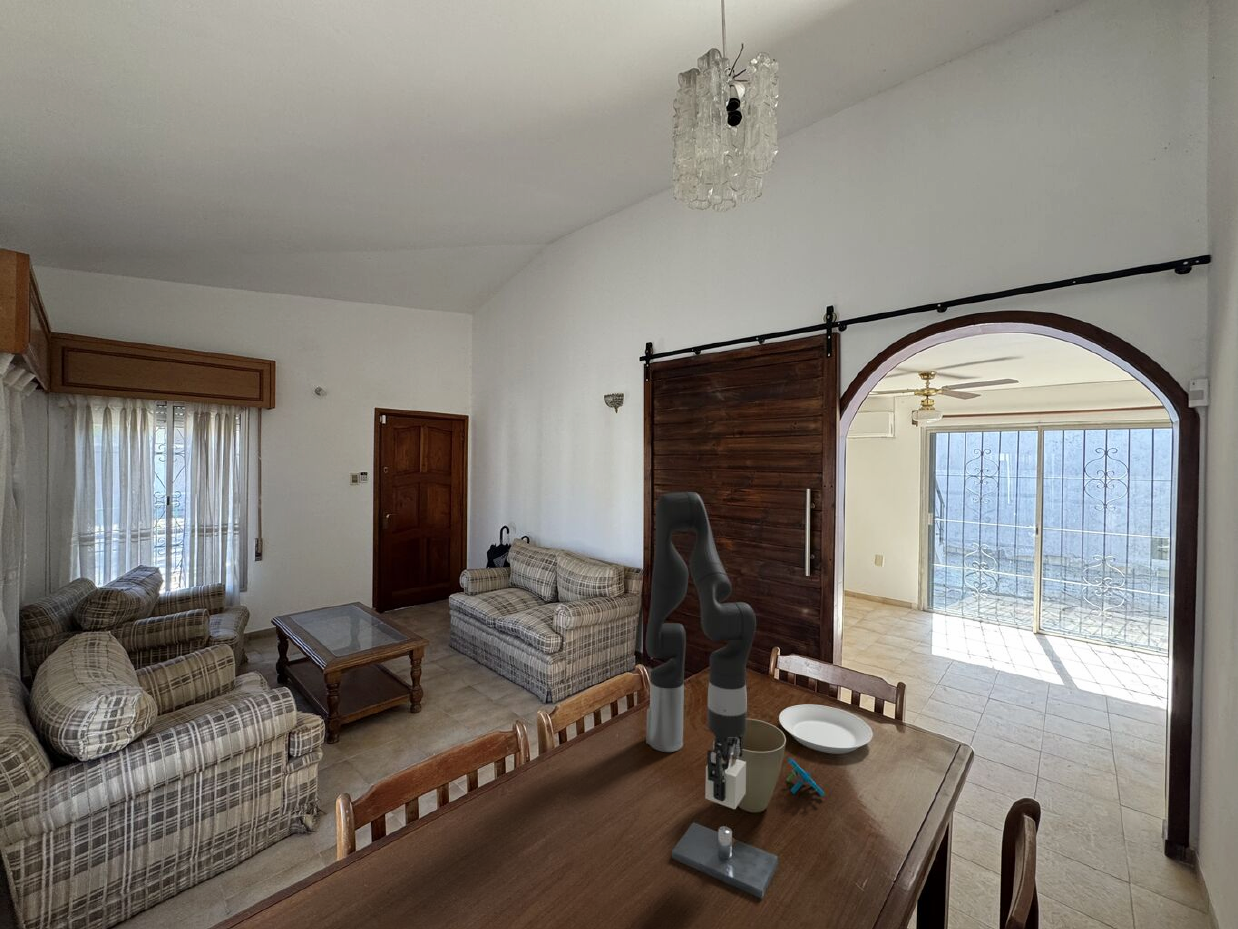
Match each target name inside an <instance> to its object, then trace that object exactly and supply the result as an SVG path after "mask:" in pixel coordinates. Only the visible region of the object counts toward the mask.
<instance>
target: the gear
mask: <svg viewBox="0 0 1238 929" xmlns="http://www.w3.org/2000/svg"><path fill="white" fill-rule="evenodd" d="M787 761H788V762H789V763H790V764H791V767H792V769H791V774H790V775H789V776H787V778H786V781H787V782H788V783H790V781H791V780H792V779H793V778H794V777H795V778H796V779H797V782H796V783H795V784H794V785H793V786H792V788H791V789H790V792H791V793H792V795H795V794H796V792H797V791H799V789H800V788H801V787H802V785H806V783H808V784H809V785H810V786H811V787H812V788H813V789H814V790H815V791H816V792H817V793H818V794H819V795H820V797H823V796H824V795H825V792H824V791H823V789H821V788H820V786H818V785H817V784H816V782H815V781H814V780H813V779H812V778H811V774H810V772H808V771H805V770H804V769H803V768H801V767H800V765H799V764H798V763H797V762H796V761H795V760H794V759H792V757H789V758H788V759H787Z"/></svg>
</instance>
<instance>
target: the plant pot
mask: <svg viewBox="0 0 1238 929" xmlns="http://www.w3.org/2000/svg"><path fill="white" fill-rule="evenodd" d="M786 743H787V738H786V735H785V734H784V732H783V731H782V730H781V729H779V728H778V727H777V726H775V725H774V724H772V723H769V722H766V721H763V720H759V719H755V718H746V732H745V733H744V737H743V755H742V757H739V760H742V761H745V762H746V793H745V795H744V796H743V798H742V800H741V801H740V803H739V804H738V806H737V807H739V808H740V809H741V810H743V811H746V812H750V813H761V812H763V811H765V810H766V809H767V808H768V805H769V803H770V801H771V799H772V796H773V793H774V791H775V788H776V787H777V786H776V785H777V782H778V779H779V776H780V774H781V772H780V771H781V769H782V764H783V759H784V755H785V750H786V749H785V748H786Z"/></svg>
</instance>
